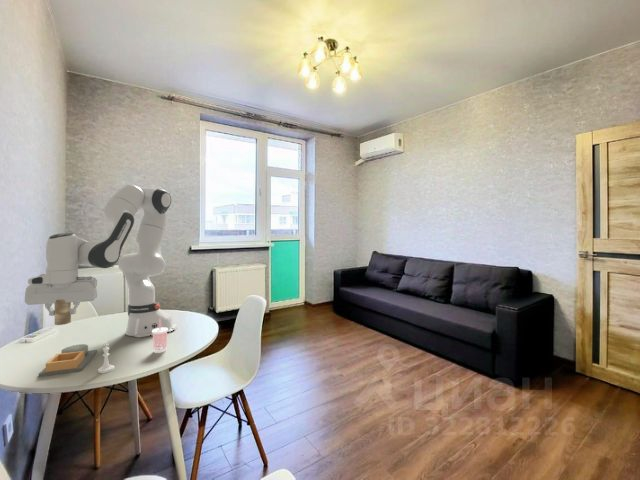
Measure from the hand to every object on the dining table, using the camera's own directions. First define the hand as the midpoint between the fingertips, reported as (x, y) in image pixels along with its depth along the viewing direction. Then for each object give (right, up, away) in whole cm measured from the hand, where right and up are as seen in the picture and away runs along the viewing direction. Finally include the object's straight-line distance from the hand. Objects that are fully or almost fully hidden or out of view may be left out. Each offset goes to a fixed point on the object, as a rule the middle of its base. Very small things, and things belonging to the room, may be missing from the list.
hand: (62, 314), depth 107 cm
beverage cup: (+27, -20, +16) cm, 37 cm away
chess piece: (+17, -20, -1) cm, 26 cm away
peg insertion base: (0, -19, +3) cm, 20 cm away
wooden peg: (0, -3, 0) cm, 3 cm away
